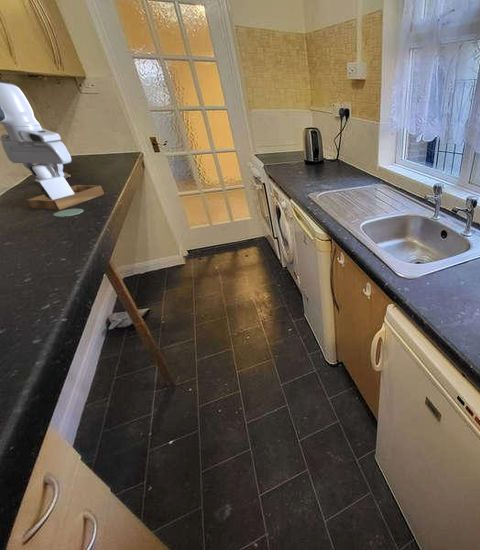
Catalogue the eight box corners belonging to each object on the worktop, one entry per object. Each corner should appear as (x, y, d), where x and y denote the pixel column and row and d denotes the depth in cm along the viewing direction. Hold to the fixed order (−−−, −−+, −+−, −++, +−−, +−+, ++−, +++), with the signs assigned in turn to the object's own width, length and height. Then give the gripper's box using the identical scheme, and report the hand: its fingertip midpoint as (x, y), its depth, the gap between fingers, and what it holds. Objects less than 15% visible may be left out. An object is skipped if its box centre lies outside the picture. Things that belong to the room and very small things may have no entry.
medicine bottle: (47, 198, 113) (23, 166, 107) (69, 192, 118) (48, 161, 111) (52, 200, 110) (28, 167, 103) (75, 194, 114) (54, 162, 108)
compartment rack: (30, 209, 120) (25, 199, 117) (79, 193, 139) (75, 185, 137) (59, 210, 119) (54, 200, 117) (104, 194, 139) (100, 185, 137)
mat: (46, 216, 113) (46, 215, 113) (67, 208, 121) (67, 208, 121) (69, 217, 113) (69, 216, 113) (89, 209, 121) (89, 208, 121)
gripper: (-12, 135, 100) (13, 177, 107) (47, 136, 99) (68, 178, 107) (8, 133, 105) (30, 173, 112) (64, 134, 105) (82, 174, 112)
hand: (49, 175), depth 110 cm, fingers closed on medicine bottle, 7 cm apart
